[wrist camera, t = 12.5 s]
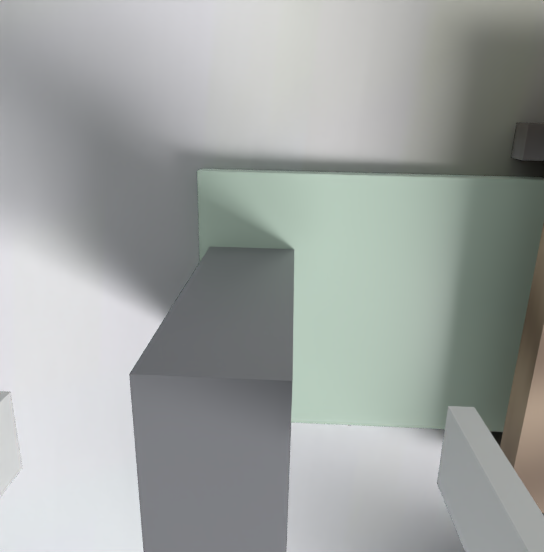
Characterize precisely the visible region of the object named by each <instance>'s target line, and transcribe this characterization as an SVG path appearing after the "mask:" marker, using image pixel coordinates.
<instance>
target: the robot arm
mask: <svg viewBox="0 0 544 552" xmlns="http://www.w3.org/2000/svg"><path fill="white" fill-rule="evenodd" d="M21 469H22V461H21V455H20V449H19V442H18V436H17V430H16V424H15V417H14V411H13V405H12V399H11V392H1V391H0V497H1V496H2V495H3V493H4V492H5V491H6V489H7V488H8V487H9V485H10V484H11V483H12V481H13V480H14V479H15V477H16V476H17V475H18V473H19V472H20V471H21ZM437 484H438V487H439V489H440V492H441V494H442V496H443V499H444V501H445V504H446V506H447V509H448V511H449V514H450V516H451V519H452V521H453V524H454V526H455V528H456V531H457V533H458V536H459V538H460V541H461V543H462V546H463V548H464V551H465V552H544V513H542V512H541V510H540V509H539V507H538V506H537V504H536V503H535V501H534V500H533V498H532V496H531V495H530V493H529V492H528V490H527V489H526V487H525V485H524V484H523V482H522V481H521V479H520V478H519V476H518V475H517V473H516V471H515V470H514V468H513V467H512V465H511V464H510V462H509V460H508V459H507V457H506V456H505V454H504V453H503V451H502V450H501V448H500V446H499V445H498V443H497V442H496V440H495V439H494V437H493V435H492V434H491V432H490V431H489V429H488V428H487V426H486V425H485V423H484V421H483V420H482V418H481V417H480V415H479V414H478V412H477V411H476V409H475V407H461V406H448V410H447V417H446V424H445V431H444V438H443V445H442V452H441V459H440V466H439V473H438V480H437Z"/></svg>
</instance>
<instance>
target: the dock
mask: <svg viewBox="0 0 544 552" xmlns="http://www.w3.org/2000/svg"><path fill="white" fill-rule="evenodd" d="M511 158H515V159H519V160H533V161H544V123H517V125H516V131H515V137H514V143H513V149H512V155H511ZM490 432H491V431H490ZM491 434H492V435H493V437H494V439H495V440H496V442H497V443H498V445H499V446H500V448H501V450H502V451H503V453H504V454H505V456H506V457H507V459H508V460H509V462H510V464H511V465H512V467H513V468H514V470H515V471H516V473H517V475H518V476H519V478H520V479H521V481H522V482H523V484H524V485H525V487H526V489H527V490H528V492H529V493H530V495H531V496H532V498H533V500H534V501H535V503H536V504H537V506H538V507H539V509H540V510H541V512H542V513H544V223H543V228H542V233H541V238H540V244H539V249H538V254H537V259H536V264H535V269H534V275H533V280H532V285H531V290H530V295H529V300H528V305H527V311H526V316H525V321H524V326H523V331H522V336H521V342H520V347H519V352H518V357H517V362H516V367H515V372H514V378H513V383H512V388H511V393H510V398H509V403H508V409H507V414H506V419H505V424H504V429H503V432H491Z"/></svg>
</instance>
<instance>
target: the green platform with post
mask: <svg viewBox="0 0 544 552" xmlns="http://www.w3.org/2000/svg"><path fill="white" fill-rule="evenodd" d="M197 188H198V224H199V261H200V263H199V264H198V266H197V267H196V269H195V271H194V272H193V274H192V275H191V277H190V279H189V280H188V282H187V283H186V285H185V287H184V288H183V290H182V291H181V293H180V295H179V296H178V298H177V299H176V301H175V303H174V304H173V306H172V307H171V309H170V310H169V312H168V314H167V315H166V317H165V318H164V320H163V322H162V323H161V325H160V326H159V328H158V330H157V331H156V333H155V334H154V336H153V338H152V339H151V341H150V342H149V344H148V346H147V347H146V349H145V350H144V352H143V354H142V355H141V357H140V358H139V360H138V361H137V363H136V365H135V366H134V368H133V369H132V371H131V373H130V374H129V375H130V387H131V400H132V412H133V425H134V437H135V450H136V462H137V475H138V487H139V500H140V512H141V525H142V537H143V550H144V552H286V544H287V517H288V490H289V463H290V436H291V422H293V423H316V424H338V425H361V426H384V427H406V428H429V429H445V424H446V417H447V410H448V406H461V407H475V409H476V411H477V412H478V414H479V415H480V417H481V418H482V420H483V421H484V423H485V425H486V426H487V428H488V429H489V431H497V432H503V429H504V424H505V419H506V414H507V409H508V403H509V398H510V393H511V388H512V383H513V378H514V372H515V367H516V362H517V357H518V352H519V347H520V342H521V336H522V331H523V326H524V321H525V316H526V311H527V305H528V300H529V295H530V290H531V285H532V280H533V275H534V269H535V264H536V259H537V254H538V249H539V244H540V238H541V233H542V228H543V223H544V177H510V176H471V175H432V174H393V173H353V172H314V171H275V170H236V169H200V170H198V171H197Z"/></svg>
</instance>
